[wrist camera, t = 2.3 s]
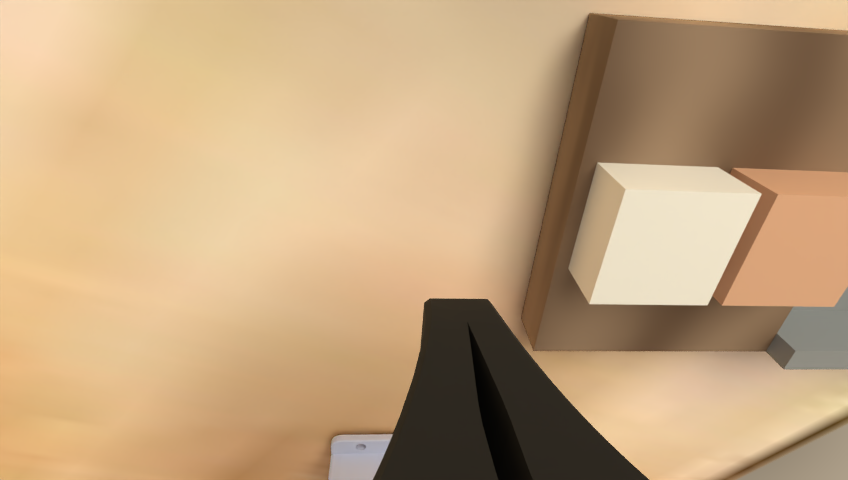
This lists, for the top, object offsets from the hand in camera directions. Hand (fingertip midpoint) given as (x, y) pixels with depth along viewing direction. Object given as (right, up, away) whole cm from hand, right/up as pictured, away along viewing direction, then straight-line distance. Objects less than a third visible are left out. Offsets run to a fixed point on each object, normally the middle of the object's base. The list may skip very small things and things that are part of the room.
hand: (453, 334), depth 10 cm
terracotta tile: (+11, +3, +6) cm, 13 cm away
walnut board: (+9, +4, +7) cm, 12 cm away
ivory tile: (+7, +3, +6) cm, 9 cm away
